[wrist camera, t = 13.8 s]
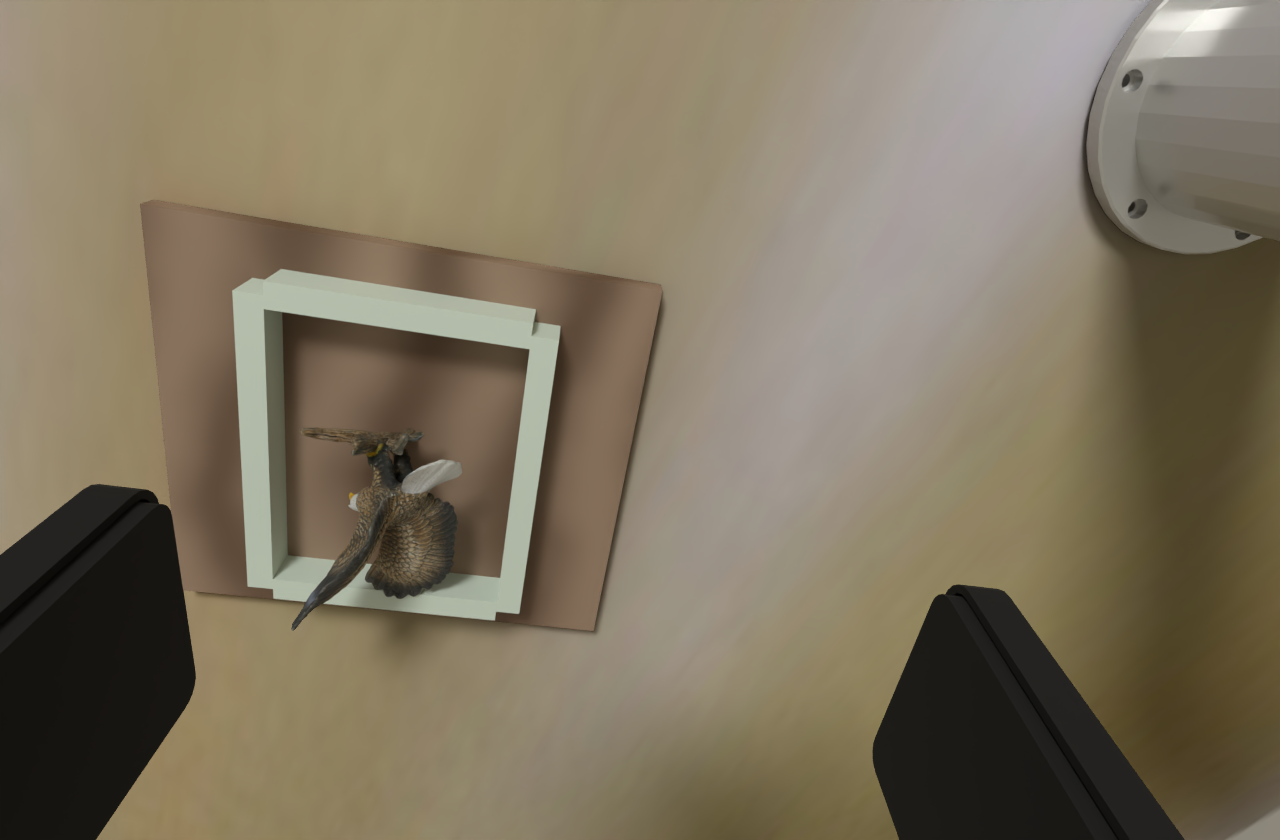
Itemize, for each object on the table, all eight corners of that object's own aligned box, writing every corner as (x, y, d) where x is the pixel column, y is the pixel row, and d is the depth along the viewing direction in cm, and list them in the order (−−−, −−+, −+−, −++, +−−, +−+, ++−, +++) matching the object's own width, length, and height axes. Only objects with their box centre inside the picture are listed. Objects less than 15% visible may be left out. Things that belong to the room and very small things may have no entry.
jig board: (660, 284, 34) (666, 303, 31) (593, 618, 42) (593, 656, 39) (153, 199, 31) (111, 212, 28) (188, 577, 39) (159, 615, 36)
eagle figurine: (278, 420, 33) (267, 615, 34) (319, 431, 28) (306, 665, 28) (438, 426, 38) (427, 597, 38) (501, 436, 32) (488, 637, 33)
